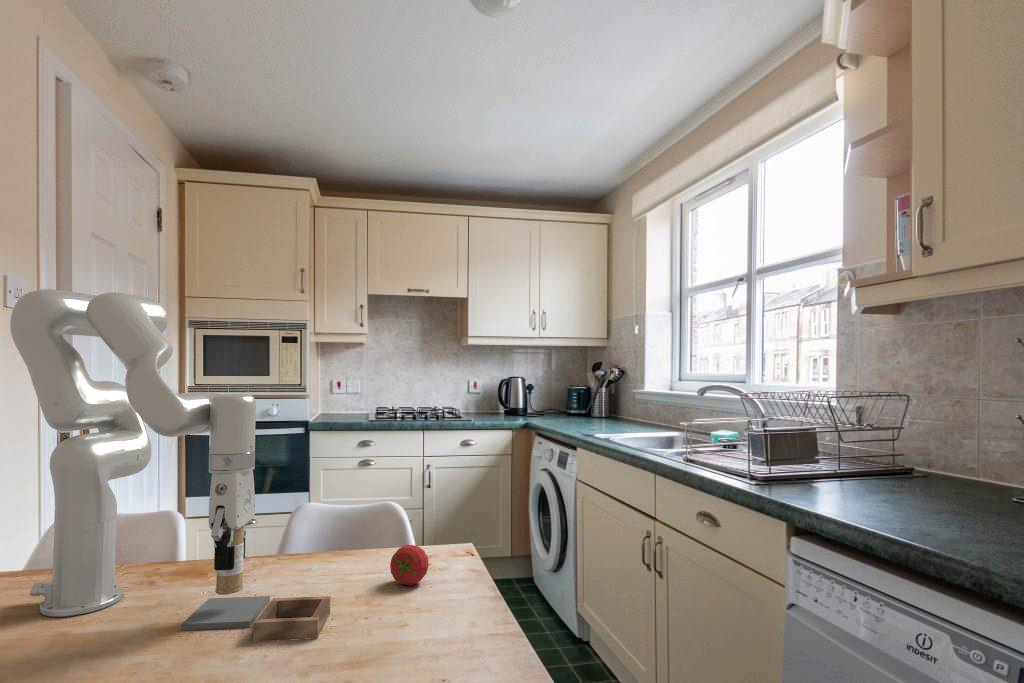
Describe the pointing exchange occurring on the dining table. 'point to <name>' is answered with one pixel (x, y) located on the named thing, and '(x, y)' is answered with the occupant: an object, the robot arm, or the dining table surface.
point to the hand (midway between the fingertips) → (229, 563)
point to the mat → (226, 613)
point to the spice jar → (233, 578)
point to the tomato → (409, 565)
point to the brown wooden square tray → (292, 628)
